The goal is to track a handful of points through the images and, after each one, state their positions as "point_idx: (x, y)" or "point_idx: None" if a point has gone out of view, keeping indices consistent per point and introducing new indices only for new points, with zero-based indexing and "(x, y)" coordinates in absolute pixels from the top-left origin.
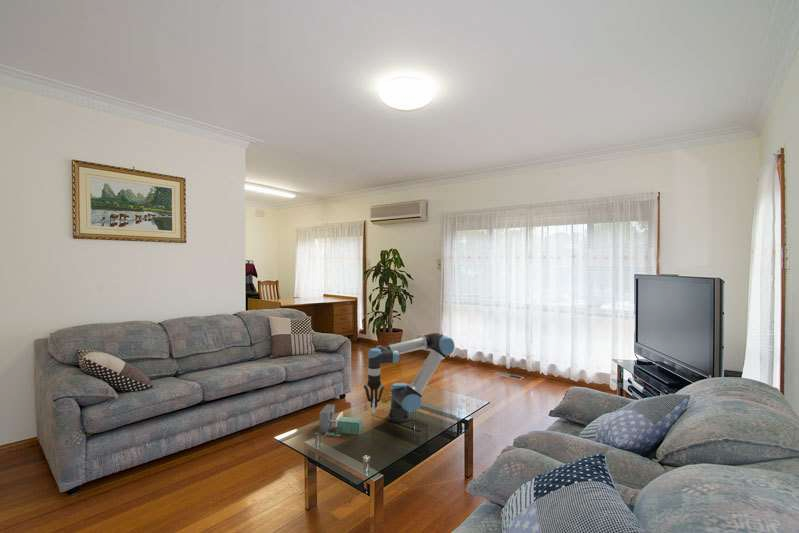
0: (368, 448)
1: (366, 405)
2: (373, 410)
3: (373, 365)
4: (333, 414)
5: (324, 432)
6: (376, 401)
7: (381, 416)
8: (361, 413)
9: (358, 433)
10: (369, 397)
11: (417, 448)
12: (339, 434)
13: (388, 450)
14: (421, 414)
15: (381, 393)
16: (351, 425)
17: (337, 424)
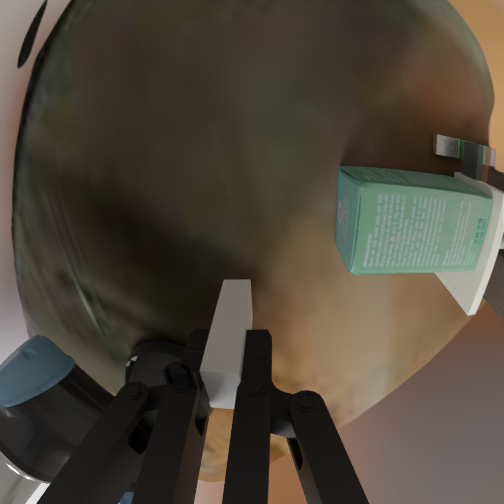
0: (226, 12)
1: None
2: (232, 299)
3: None
4: (495, 294)
5: (498, 171)
6: (168, 390)
7: None
8: (347, 386)
9: (340, 167)
10: (299, 452)
11: (23, 121)
12: (442, 142)
13: (115, 37)
14: None
15: (55, 477)
16: (407, 180)
17: (482, 187)
